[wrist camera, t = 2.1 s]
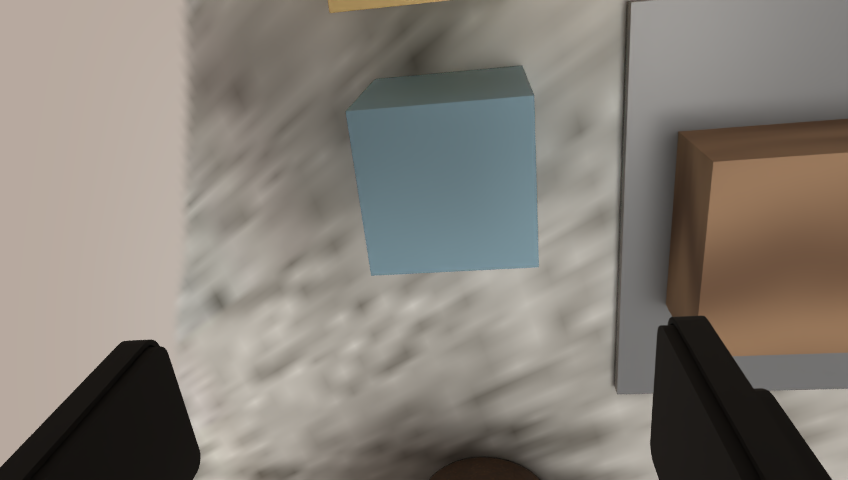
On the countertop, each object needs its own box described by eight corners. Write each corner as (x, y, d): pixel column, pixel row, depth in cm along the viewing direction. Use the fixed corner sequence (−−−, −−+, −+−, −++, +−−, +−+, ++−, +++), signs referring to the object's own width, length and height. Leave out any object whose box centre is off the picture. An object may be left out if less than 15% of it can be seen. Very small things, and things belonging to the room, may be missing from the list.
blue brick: (375, 78, 25) (345, 111, 19) (522, 65, 24) (534, 95, 19) (393, 213, 27) (371, 275, 22) (527, 204, 26) (539, 267, 21)
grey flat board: (627, 1, 23) (631, 2, 22) (979, -35, 21) (992, -35, 21) (614, 386, 30) (617, 394, 29) (874, 379, 29) (882, 387, 28)
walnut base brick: (678, 131, 24) (713, 161, 20) (897, 114, 23) (975, 143, 19) (665, 304, 27) (693, 357, 24) (856, 296, 26) (916, 350, 23)
